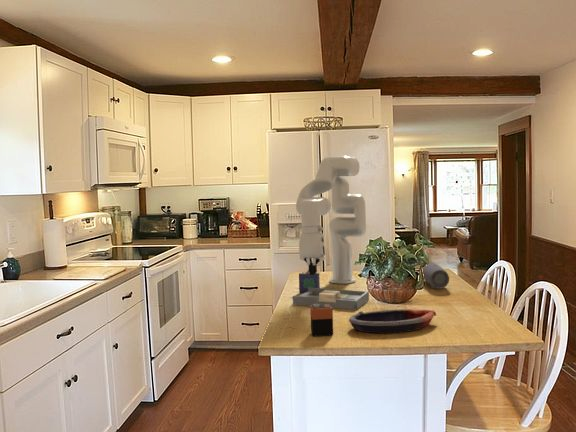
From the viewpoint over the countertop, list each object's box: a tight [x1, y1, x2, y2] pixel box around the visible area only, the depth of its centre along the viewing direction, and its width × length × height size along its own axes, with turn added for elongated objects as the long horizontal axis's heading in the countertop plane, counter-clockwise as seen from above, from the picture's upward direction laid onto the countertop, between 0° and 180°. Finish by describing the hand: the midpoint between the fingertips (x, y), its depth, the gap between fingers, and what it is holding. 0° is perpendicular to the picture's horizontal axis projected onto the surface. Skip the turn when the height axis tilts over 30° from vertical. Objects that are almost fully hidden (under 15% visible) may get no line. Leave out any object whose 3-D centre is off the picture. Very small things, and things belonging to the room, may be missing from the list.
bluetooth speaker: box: [423, 261, 450, 289], centre depth 231 cm, size 23×9×10 cm, turn 178°
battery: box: [309, 304, 334, 337], centre depth 165 cm, size 4×7×10 cm, turn 95°
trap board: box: [292, 287, 370, 311], centre depth 207 cm, size 16×27×4 cm, turn 64°
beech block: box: [319, 290, 340, 302], centre depth 203 cm, size 6×6×3 cm
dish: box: [348, 308, 437, 334], centre depth 171 cm, size 16×31×5 cm, turn 98°
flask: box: [298, 268, 321, 295], centre depth 225 cm, size 9×3×11 cm, turn 88°
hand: (313, 274), depth 207 cm, fingers closed
